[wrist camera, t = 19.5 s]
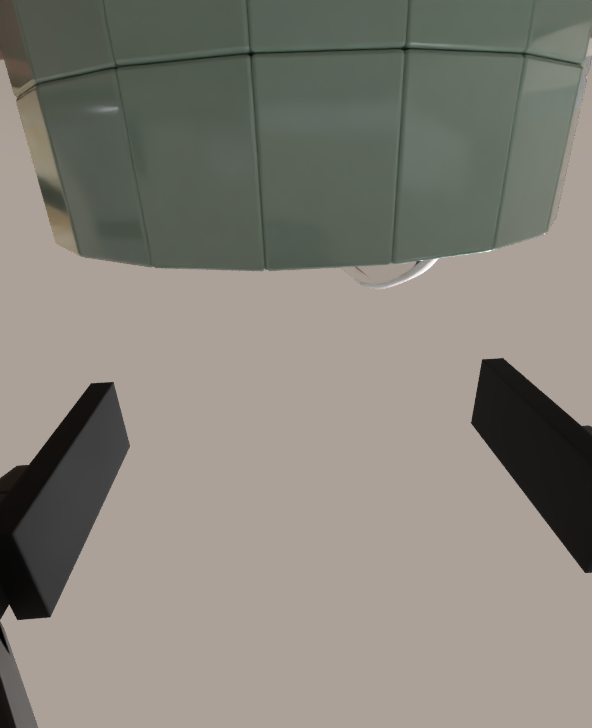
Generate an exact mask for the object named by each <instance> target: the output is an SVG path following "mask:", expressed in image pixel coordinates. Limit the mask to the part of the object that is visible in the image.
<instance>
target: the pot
mask: <svg viewBox="0 0 592 728" xmlns="http://www.w3.org/2000/svg"><path fill="white" fill-rule="evenodd" d="M0 46H1V50H2V53H3V57H4V61H5V64H6V68H7V71H8V75H9V78H10V82H11V85H12V89H13V93H14V95H15V96H16V97H17V101H16V102H17V107H18V110H19V114H20V118H21V121H22V124H23V128H24V132H25V135H26V139H27V142H28V146H29V149H30V153H31V157H32V160H33V164H34V167H35V171H36V174H37V178H38V182H39V185H40V189H41V192H42V196H43V199H44V203H45V206H46V210H47V213H48V217H49V221H50V224H51V228H52V232H53V235H54V238H55V242H56V243H57V244H58V245H60V246H62V247H64V248H66V249H68V250H69V251H71V252H73V253H75V254H77V255H79V256H81V257H85V258H92V259H98V260H105V261H112V262H119V263H126V264H132V265H139V266H145V267H155V268H173V269H174V268H175V269H206V270H239V271H240V270H242V271H243V270H244V271H264V270H269V271H279V270H300V269H318V268H319V269H320V268H339V267H359V266H379V265H388V264H391V263H392V264H401V263H408V262H416V261H423V260H430V259H437V258H445V257H452V256H459V255H466V254H474V253H480V252H487V251H490V250H491V251H492V250H496V249H499V248H502V247H505V246H509V245H512V244H516V243H519V242H522V241H525V240H529V239H532V238H535V237H538V236H541V235H544V234H546V233H547V232H548V230H549V228H550V227H551V226H552V224H553V222H554V221H555V219H556V217H557V212H558V208H559V203H560V199H561V194H562V190H563V185H564V181H565V176H566V172H567V167H568V163H569V158H570V154H571V150H572V145H573V140H574V136H575V132H576V127H577V123H578V118H579V114H580V109H581V105H582V100H583V96H584V91H585V87H586V83H587V79H586V76H587V75H588V72H589V69H590V64H591V60H592V0H0Z"/></svg>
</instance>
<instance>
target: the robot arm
mask: <svg viewBox="0 0 592 728" xmlns="http://www.w3.org/2000/svg"><path fill="white" fill-rule="evenodd" d="M471 424H472V425H473V426H474V428H475V429H476V430H477V432H478V433H479V434H480V436H481V437H482V438H483V439H484V441H485V442H486V443H487V445H488V446H489V447H490V449H491V450H492V451H493V453H494V454H495V455H496V456H497V458H498V459H499V460H500V462H501V463H502V464H503V466H504V467H505V468H506V470H507V471H508V472H509V474H510V475H511V476H512V477H513V479H514V480H515V481H516V483H517V484H518V485H519V487H520V488H521V489H522V491H523V492H524V493H525V495H526V496H527V497H528V498H529V500H530V501H531V502H532V504H533V505H534V506H535V508H536V509H537V510H538V512H539V513H540V514H541V516H542V517H543V518H544V519H545V521H546V522H547V524H548V525H549V526H550V527H551V529H552V530H553V531H554V533H555V534H556V535H557V537H558V538H559V539H560V540H561V542H562V543H563V544H564V546H565V547H566V548H567V550H568V551H569V552H570V554H571V555H572V556H573V558H574V559H575V560H576V561H577V563H578V564H579V566H580V567H581V568H582V569H583V571H584V572H585V573H591V572H592V427H591V426H581V425H580V424H579V423H577V422H576V421H575V420H574V419H573V418H572V417H571V416H569V415H568V414H567V413H566V412H565V411H563V410H562V409H561V408H560V407H559V406H558V405H556V404H555V403H554V402H553V401H552V400H551V399H550V398H549V397H547V396H546V395H545V394H544V393H543V392H542V391H540V390H539V389H538V388H537V387H536V386H535V385H533V384H532V383H531V382H530V381H529V380H528V379H526V378H525V377H524V376H523V375H522V374H521V373H520V372H518V371H517V370H516V369H515V368H514V367H513V366H511V365H510V364H509V363H508V362H507V361H506V360H504V359H503V358H500V359H483V360H482V364H481V370H480V376H479V382H478V387H477V392H476V398H475V404H474V410H473V416H472V422H471ZM129 447H130V444H129V441H128V437H127V433H126V429H125V425H124V421H123V417H122V413H121V409H120V406H119V402H118V398H117V394H116V390H115V387H114V382H109V383H108V382H107V383H91V384H90V386H89V387H88V388H87V390H86V391H85V392H84V393H83V395H82V396H81V398H80V399H79V400H78V401H77V403H76V404H75V405H74V407H73V408H72V409H71V411H70V412H69V413H68V415H67V416H66V417H65V418H64V420H63V421H62V422H61V424H60V425H59V427H58V428H57V429H56V430H55V432H54V433H53V434H52V435H51V437H50V438H49V440H48V441H47V442H46V443H45V445H44V446H43V447H42V449H41V450H40V451H39V453H38V454H37V455H36V456H35V458H34V459H33V460H32V462H31V463H30V465H21V466H16V467H15V468H13V469H12V470H11V471H9V472H8V473H7V474H5V475H4V476H3V477H1V478H0V619H1V618H2V616H3V614H4V612H5V610H6V609H7V607H8V605H10V607H11V608H12V610H13V612H14V614H15V616H16V618H17V620H23V619H35V618H47V617H51V614H52V613H53V610H54V608H55V606H56V604H57V602H58V600H59V598H60V595H61V593H62V591H63V589H64V587H65V585H66V582H67V580H68V578H69V576H70V574H71V572H72V570H73V567H74V565H75V563H76V561H77V559H78V556H79V555H80V552H81V550H82V548H83V546H84V544H85V542H86V540H87V537H88V535H89V533H90V531H91V529H92V527H93V524H94V522H95V520H96V518H97V516H98V514H99V512H100V509H101V507H102V505H103V503H104V501H105V499H106V496H107V494H108V492H109V490H110V488H111V486H112V484H113V482H114V479H115V477H116V475H117V473H118V471H119V469H120V466H121V464H122V462H123V460H124V458H125V456H126V454H127V451H128V449H129ZM0 728H38V726H37V723H36V720H35V717H34V714H33V711H32V708H31V706H30V702H29V699H28V697H27V694H26V691H25V688H24V685H23V682H22V679H21V676H20V674H19V670H18V668H17V665H16V662H15V659H14V656H13V653H12V650H11V647H10V644H9V642H8V639H7V636H6V633H5V630H4V628H3V626H2V624H1V622H0Z"/></svg>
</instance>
